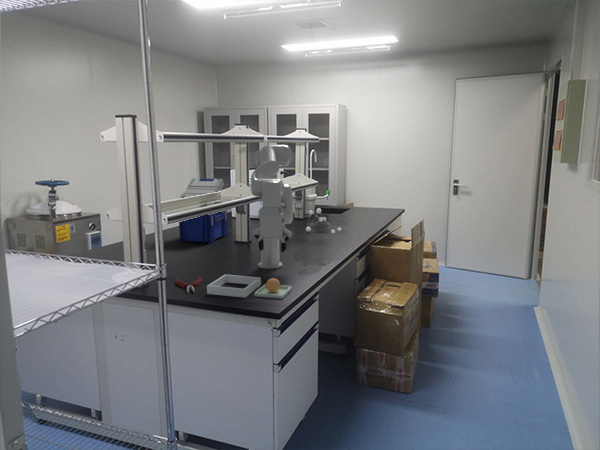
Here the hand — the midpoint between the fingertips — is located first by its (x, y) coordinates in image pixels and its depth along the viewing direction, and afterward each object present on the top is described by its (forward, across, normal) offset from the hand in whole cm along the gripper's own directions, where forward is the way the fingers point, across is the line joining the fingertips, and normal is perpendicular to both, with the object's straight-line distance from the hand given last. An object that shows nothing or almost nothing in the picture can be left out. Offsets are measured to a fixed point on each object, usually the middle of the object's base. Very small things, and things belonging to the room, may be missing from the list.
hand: (272, 250), depth 190 cm
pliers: (+19, +40, +3) cm, 45 cm away
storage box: (+20, +81, -90) cm, 123 cm away
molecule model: (+20, +10, -136) cm, 138 cm away
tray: (+18, 0, +1) cm, 18 cm away
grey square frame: (+18, +18, +1) cm, 25 cm away
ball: (+15, 0, +1) cm, 15 cm away
